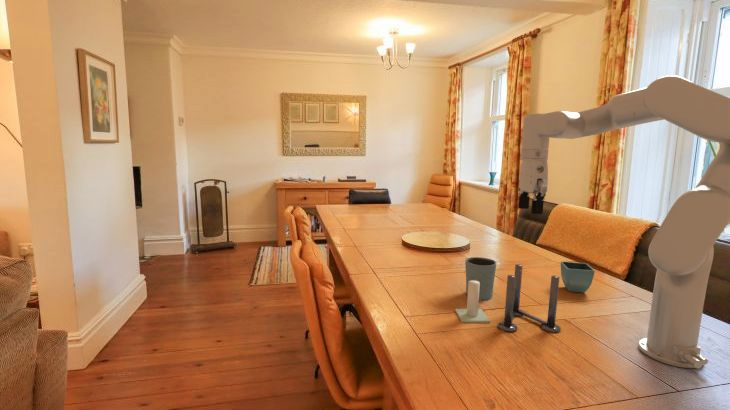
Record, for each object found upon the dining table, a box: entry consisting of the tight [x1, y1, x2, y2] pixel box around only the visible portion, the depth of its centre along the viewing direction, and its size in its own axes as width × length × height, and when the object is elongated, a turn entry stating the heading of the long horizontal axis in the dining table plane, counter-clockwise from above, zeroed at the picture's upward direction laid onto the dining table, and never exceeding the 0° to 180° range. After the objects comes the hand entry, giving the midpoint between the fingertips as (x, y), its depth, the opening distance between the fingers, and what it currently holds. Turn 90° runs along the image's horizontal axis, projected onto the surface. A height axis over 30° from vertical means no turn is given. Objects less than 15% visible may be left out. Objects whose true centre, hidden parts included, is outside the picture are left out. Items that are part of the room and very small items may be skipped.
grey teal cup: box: [464, 256, 498, 301], centre depth 130 cm, size 10×10×12 cm
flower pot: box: [560, 261, 596, 293], centre depth 136 cm, size 9×9×9 cm
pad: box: [455, 308, 491, 324], centre depth 114 cm, size 8×8×1 cm
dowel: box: [466, 280, 480, 317], centre depth 113 cm, size 3×3×10 cm
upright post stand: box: [497, 263, 562, 334], centre depth 111 cm, size 15×17×15 cm
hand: (529, 211), depth 119 cm, fingers open, 9 cm apart
